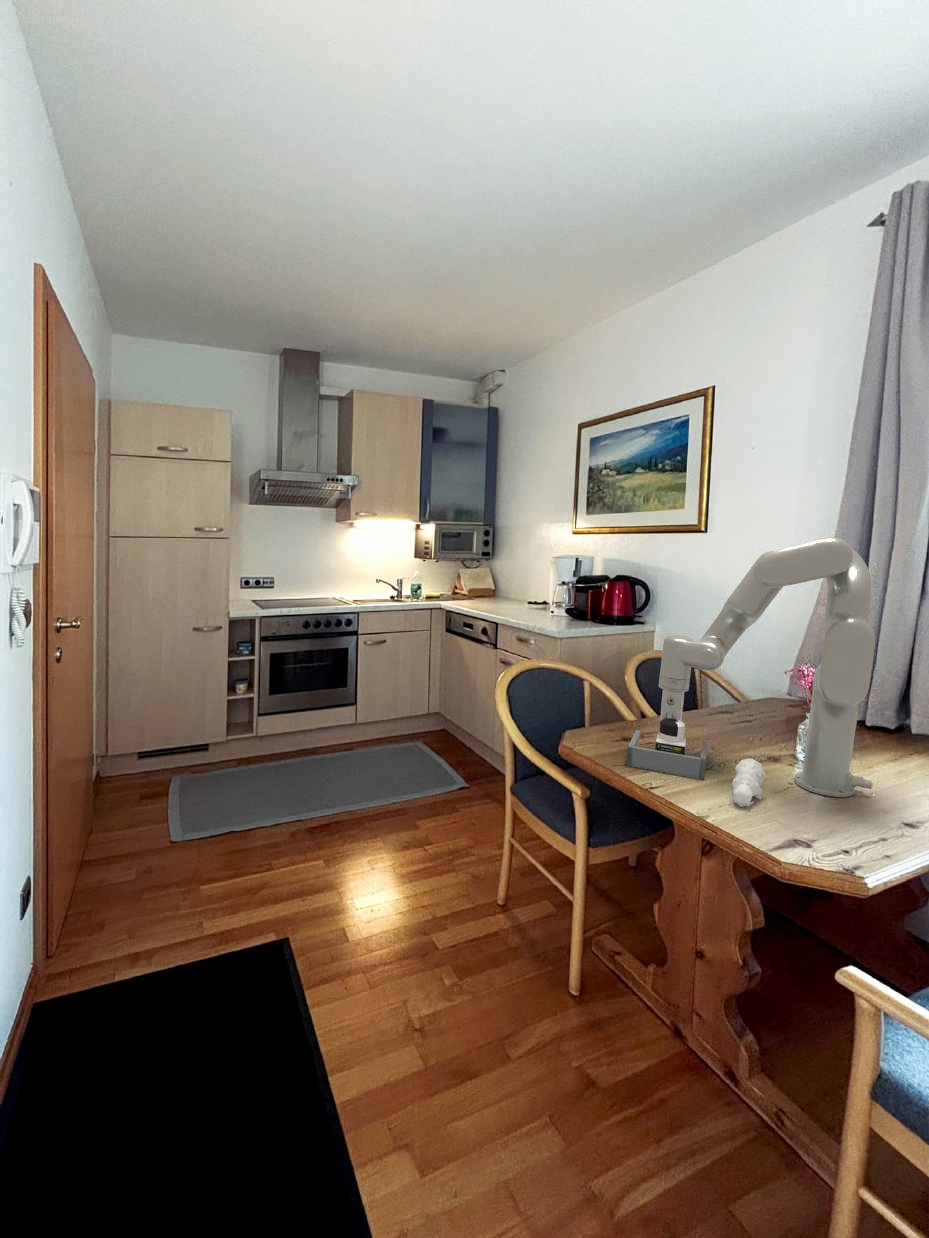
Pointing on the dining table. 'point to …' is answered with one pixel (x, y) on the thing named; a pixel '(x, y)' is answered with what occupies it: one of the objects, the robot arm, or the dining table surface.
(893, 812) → the dining table surface
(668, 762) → the box
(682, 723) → the medicine bottle
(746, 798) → the white animal figurine
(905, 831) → the dining table surface
